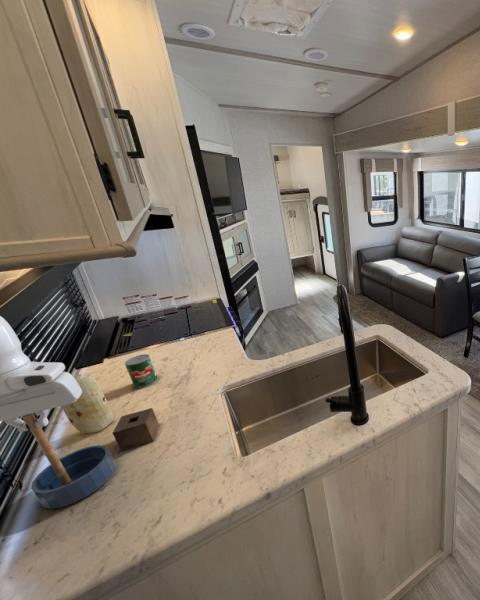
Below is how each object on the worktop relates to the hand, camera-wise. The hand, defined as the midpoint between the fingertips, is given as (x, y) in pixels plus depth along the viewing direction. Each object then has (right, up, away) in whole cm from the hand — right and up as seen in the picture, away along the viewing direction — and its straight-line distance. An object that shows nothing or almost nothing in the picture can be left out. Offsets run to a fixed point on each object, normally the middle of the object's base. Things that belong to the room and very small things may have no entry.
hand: (35, 427), depth 75 cm
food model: (-12, -12, +28) cm, 33 cm away
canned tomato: (-16, -3, +52) cm, 55 cm away
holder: (+7, -13, +23) cm, 27 cm away
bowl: (+3, -18, +8) cm, 20 cm away
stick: (+1, -17, +6) cm, 18 cm away
